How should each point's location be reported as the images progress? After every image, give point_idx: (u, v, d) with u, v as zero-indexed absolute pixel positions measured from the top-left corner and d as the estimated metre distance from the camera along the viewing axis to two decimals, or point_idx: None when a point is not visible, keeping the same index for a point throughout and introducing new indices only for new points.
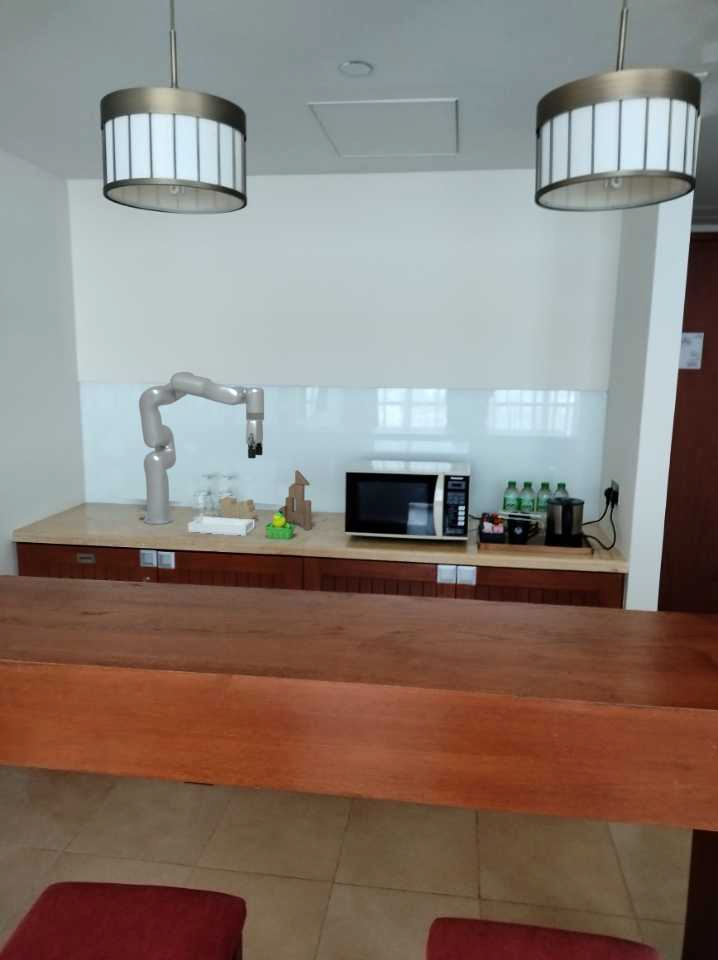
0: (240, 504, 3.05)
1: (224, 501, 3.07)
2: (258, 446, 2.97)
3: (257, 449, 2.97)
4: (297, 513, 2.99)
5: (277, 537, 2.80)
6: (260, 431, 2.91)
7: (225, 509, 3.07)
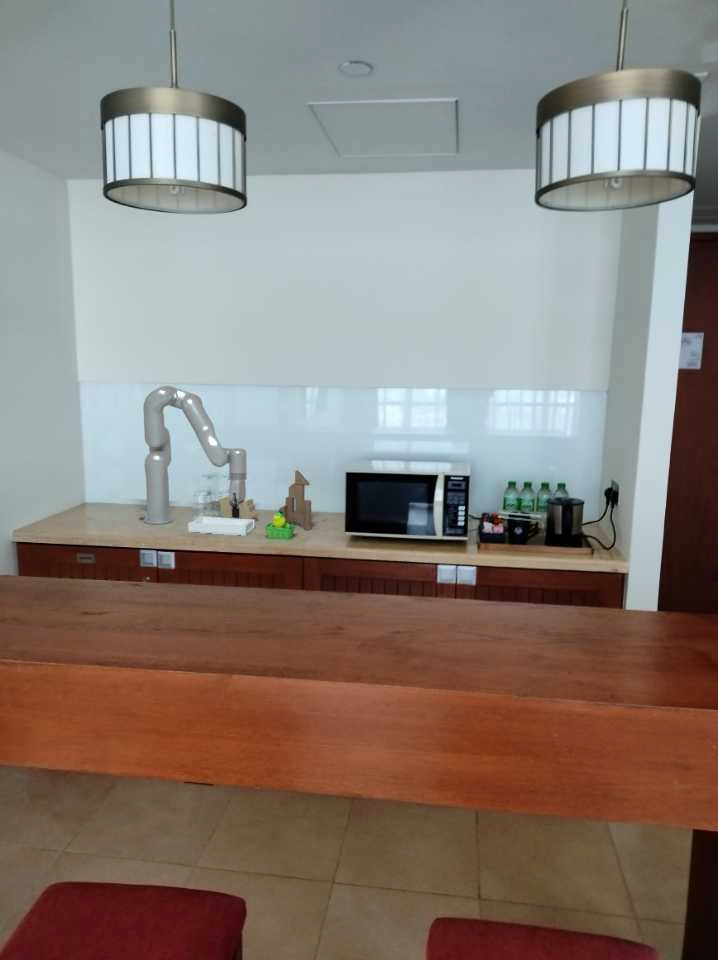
0: (240, 504, 3.05)
1: (224, 501, 3.07)
2: None
3: None
4: (297, 513, 2.99)
5: (277, 537, 2.80)
6: (243, 490, 3.06)
7: (226, 509, 3.07)
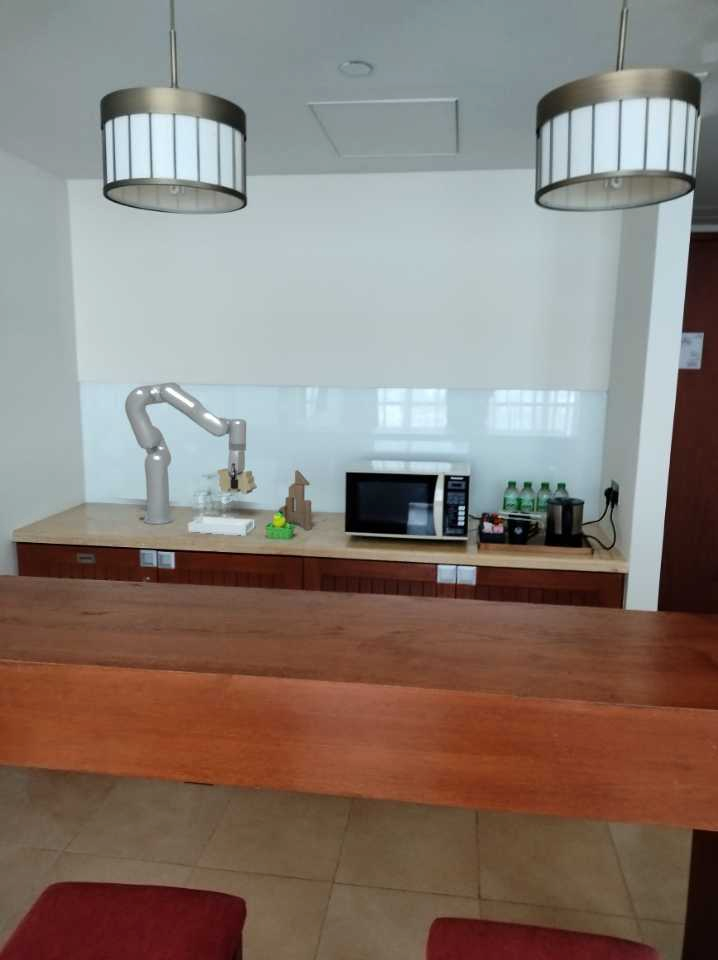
0: (239, 475, 3.03)
1: (223, 472, 3.04)
2: None
3: None
4: (297, 513, 2.99)
5: (277, 537, 2.80)
6: (242, 461, 3.03)
7: (224, 480, 3.05)
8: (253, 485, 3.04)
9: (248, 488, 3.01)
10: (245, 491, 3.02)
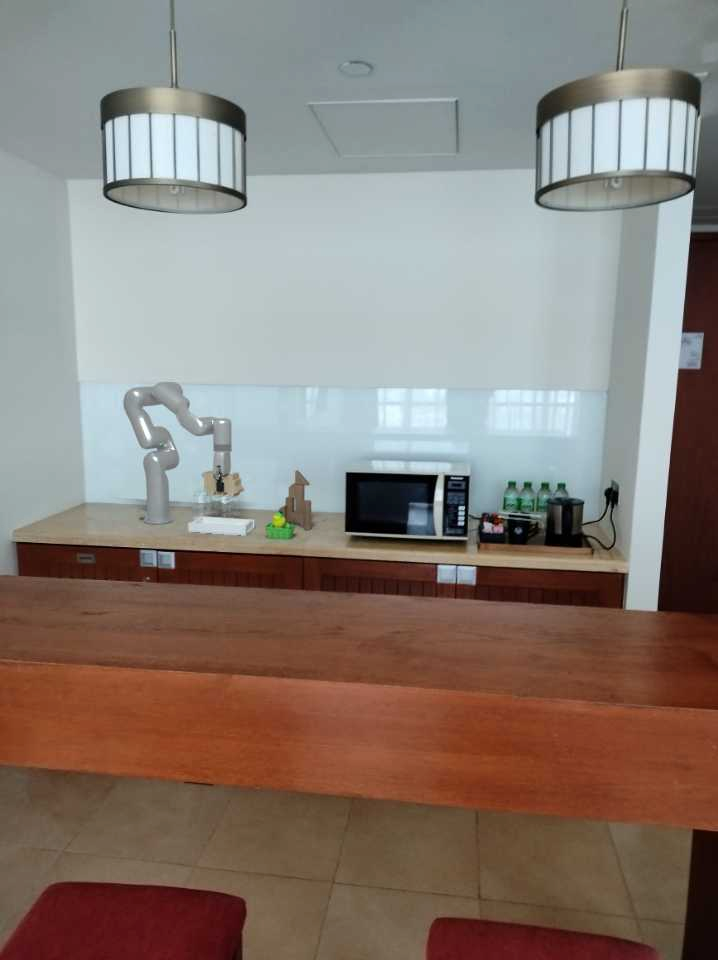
0: (225, 477, 2.87)
1: (208, 474, 2.88)
2: None
3: None
4: (297, 513, 2.99)
5: (277, 537, 2.80)
6: (227, 462, 2.87)
7: (209, 483, 2.88)
8: (240, 488, 2.88)
9: (235, 491, 2.85)
10: (232, 494, 2.86)
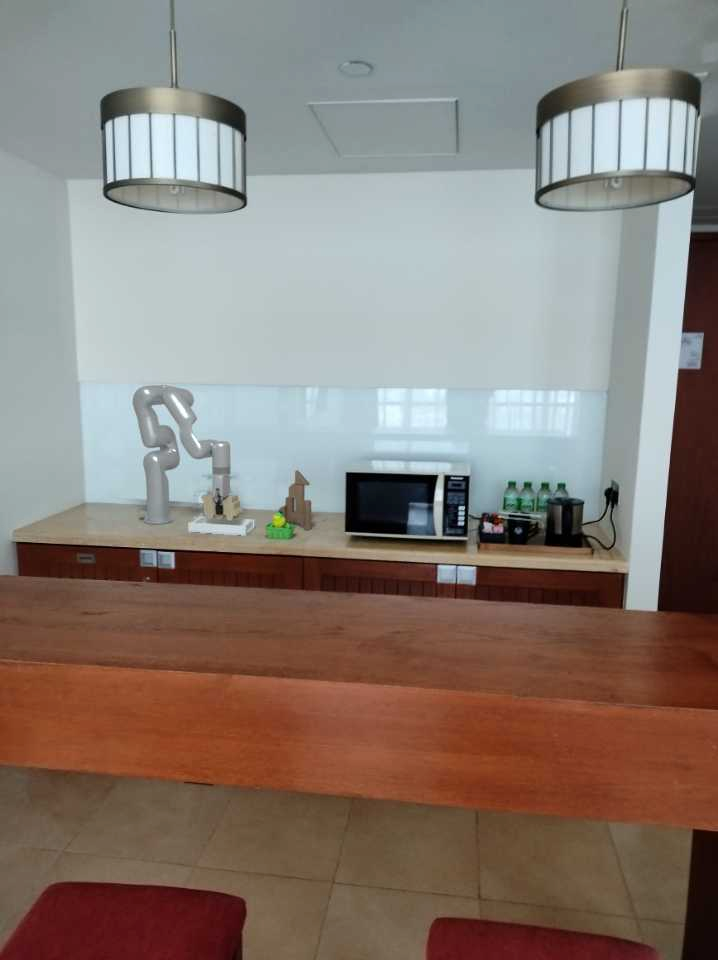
0: (224, 500, 2.87)
1: (207, 497, 2.88)
2: None
3: None
4: (297, 513, 2.99)
5: (277, 537, 2.80)
6: (227, 485, 2.87)
7: (209, 506, 2.89)
8: (239, 510, 2.88)
9: (234, 514, 2.85)
10: (231, 517, 2.86)
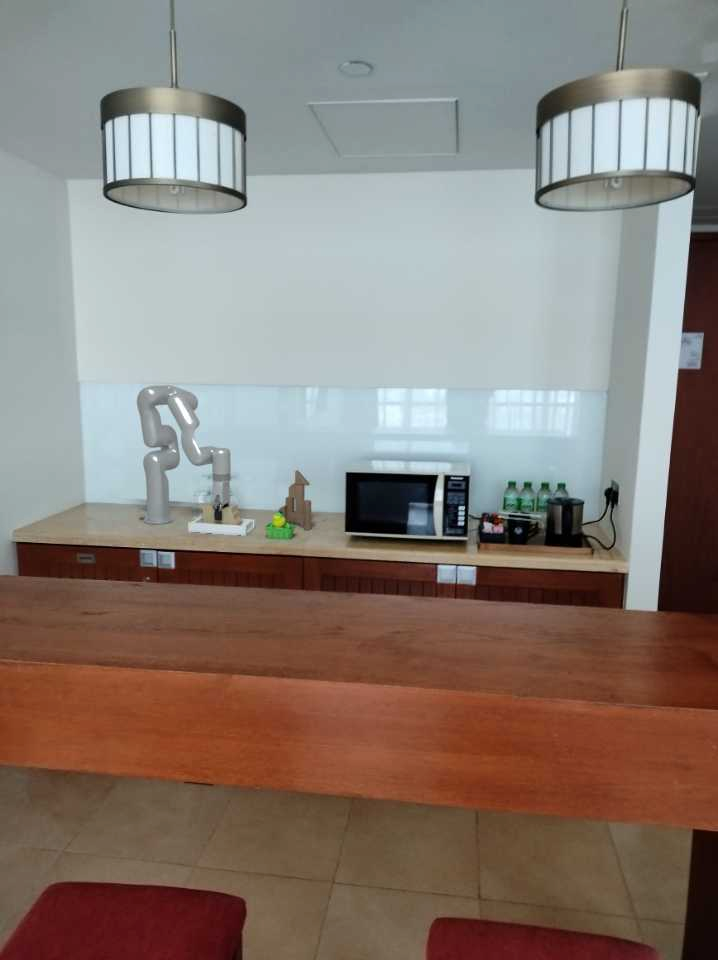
0: (224, 510, 2.88)
1: (207, 507, 2.89)
2: (225, 506, 2.94)
3: None
4: (297, 513, 2.99)
5: (277, 537, 2.80)
6: (227, 492, 2.88)
7: (208, 516, 2.89)
8: (239, 520, 2.89)
9: (234, 524, 2.86)
10: None
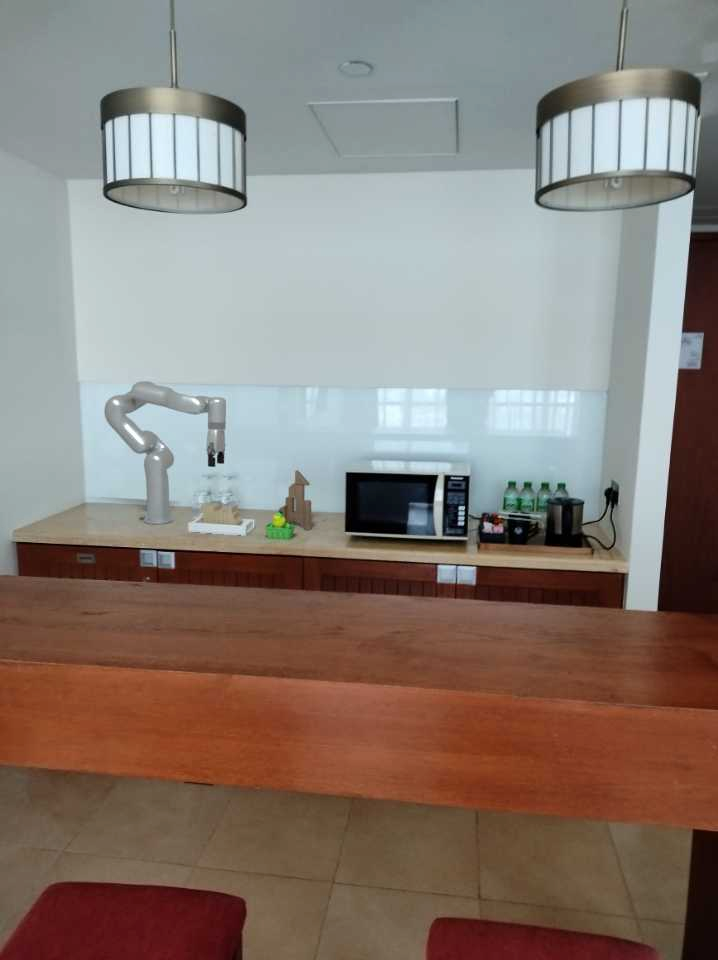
0: (224, 510, 2.88)
1: (207, 507, 2.89)
2: (220, 455, 3.03)
3: (219, 457, 3.03)
4: (297, 513, 2.99)
5: (277, 537, 2.80)
6: (221, 440, 2.97)
7: (208, 516, 2.89)
8: (239, 520, 2.89)
9: (234, 524, 2.86)
10: None
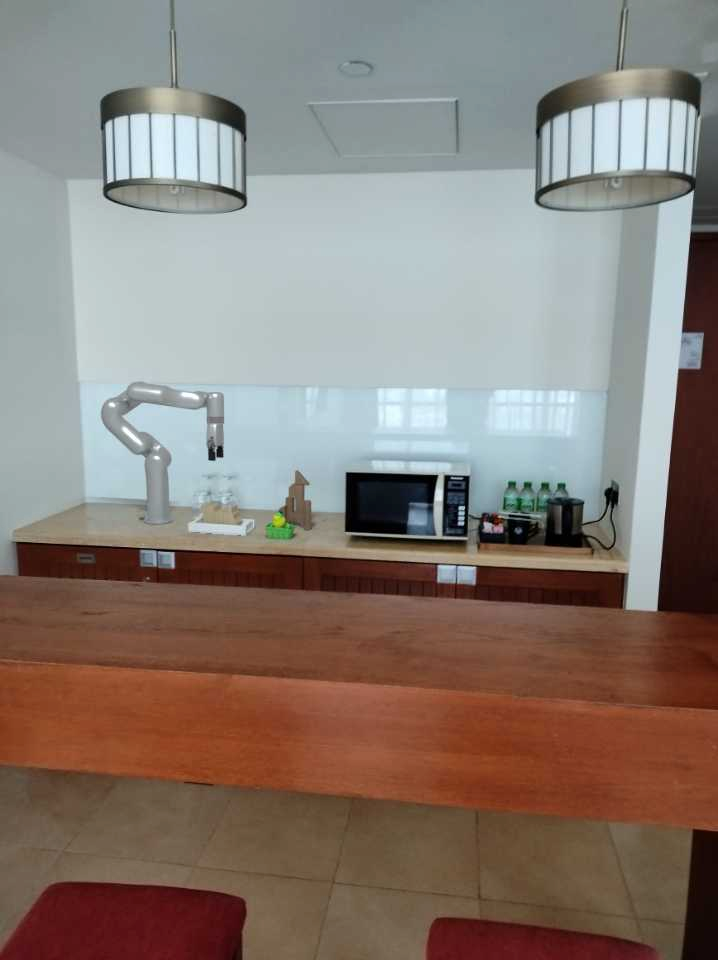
0: (224, 510, 2.88)
1: (207, 507, 2.89)
2: (219, 449, 3.06)
3: (218, 452, 3.06)
4: (297, 513, 2.99)
5: (277, 537, 2.80)
6: (220, 434, 3.00)
7: (208, 516, 2.89)
8: (239, 520, 2.89)
9: (234, 524, 2.86)
10: None
